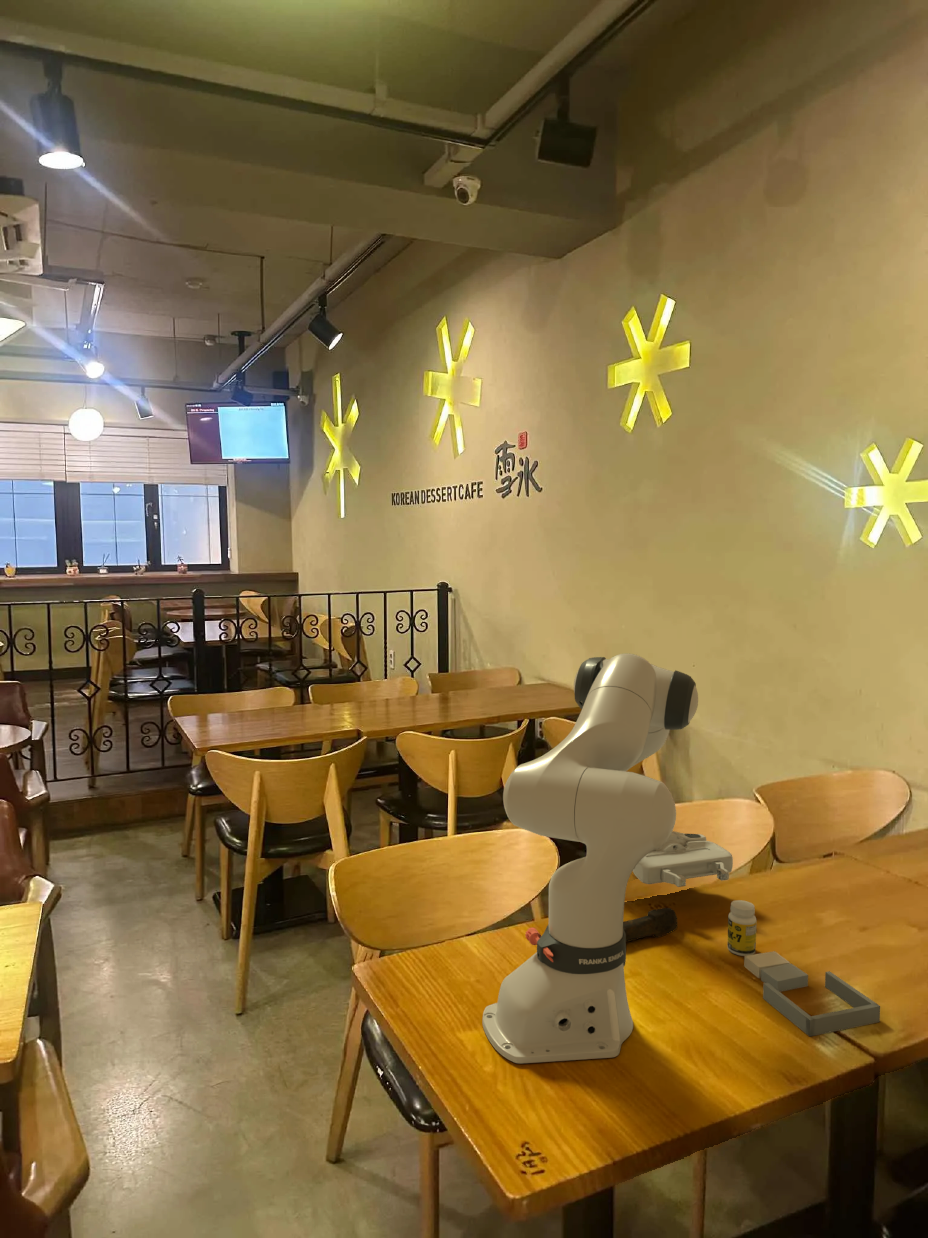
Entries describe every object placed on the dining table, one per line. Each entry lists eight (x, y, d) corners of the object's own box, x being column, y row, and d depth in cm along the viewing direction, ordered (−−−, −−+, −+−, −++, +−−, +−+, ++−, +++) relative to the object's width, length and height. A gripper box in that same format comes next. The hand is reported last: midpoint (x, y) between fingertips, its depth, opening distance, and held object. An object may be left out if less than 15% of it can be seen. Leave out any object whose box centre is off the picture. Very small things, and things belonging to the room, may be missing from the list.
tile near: (777, 994, 133) (777, 981, 132) (760, 982, 136) (761, 969, 136) (807, 988, 135) (808, 975, 134) (790, 976, 138) (791, 963, 138)
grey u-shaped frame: (809, 1036, 121) (810, 1020, 120) (763, 998, 131) (763, 983, 131) (879, 1022, 124) (880, 1006, 124) (829, 986, 134) (829, 971, 134)
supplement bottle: (721, 947, 148) (722, 901, 147) (742, 942, 150) (743, 897, 149) (740, 959, 143) (741, 912, 143) (761, 954, 145) (762, 907, 144)
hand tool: (596, 955, 145) (597, 930, 145) (585, 945, 149) (585, 920, 148) (685, 937, 152) (686, 912, 152) (672, 927, 156) (673, 904, 155)
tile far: (758, 980, 137) (758, 967, 137) (744, 968, 141) (744, 956, 141) (789, 975, 139) (789, 962, 138) (774, 963, 142) (774, 951, 142)
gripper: (621, 844, 167) (656, 870, 154) (709, 833, 173) (749, 857, 160) (620, 874, 168) (655, 903, 155) (708, 862, 174) (749, 888, 161)
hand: (704, 879), depth 158 cm, fingers open, 8 cm apart
